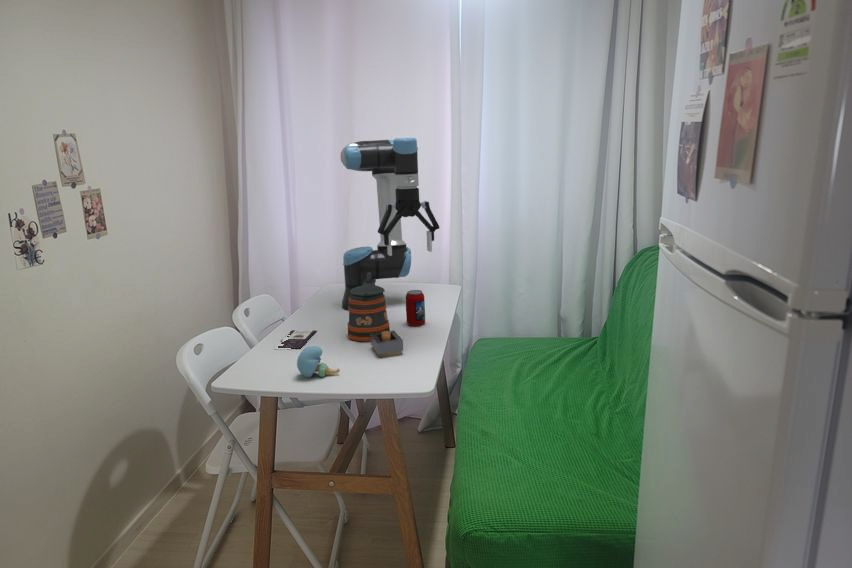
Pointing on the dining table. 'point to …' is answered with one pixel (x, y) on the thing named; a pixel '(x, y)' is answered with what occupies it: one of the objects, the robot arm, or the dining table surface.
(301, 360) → the blue haired figurine
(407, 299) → the beverage can
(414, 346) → the dining table surface
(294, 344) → the chocolate bar
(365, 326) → the beer stein
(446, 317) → the dining table surface
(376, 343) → the grey rectangular frame
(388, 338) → the keeper
